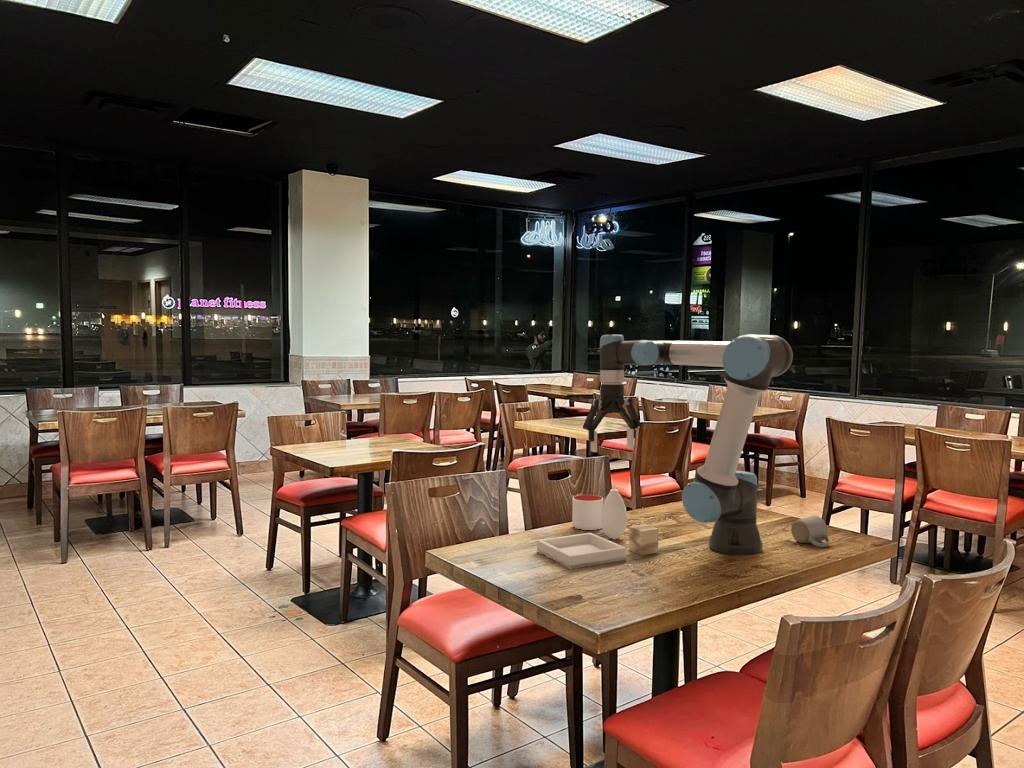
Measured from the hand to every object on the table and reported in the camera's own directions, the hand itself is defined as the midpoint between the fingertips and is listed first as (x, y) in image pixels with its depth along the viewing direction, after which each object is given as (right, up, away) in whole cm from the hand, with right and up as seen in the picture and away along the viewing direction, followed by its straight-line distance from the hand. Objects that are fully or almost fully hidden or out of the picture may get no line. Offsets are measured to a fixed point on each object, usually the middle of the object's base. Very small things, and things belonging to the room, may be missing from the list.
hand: (612, 450), depth 234 cm
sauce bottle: (0, -27, -6) cm, 28 cm away
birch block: (+6, -28, -19) cm, 34 cm away
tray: (-12, -28, -24) cm, 39 cm away
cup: (-7, -26, +8) cm, 28 cm away
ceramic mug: (+59, -27, -10) cm, 66 cm away
